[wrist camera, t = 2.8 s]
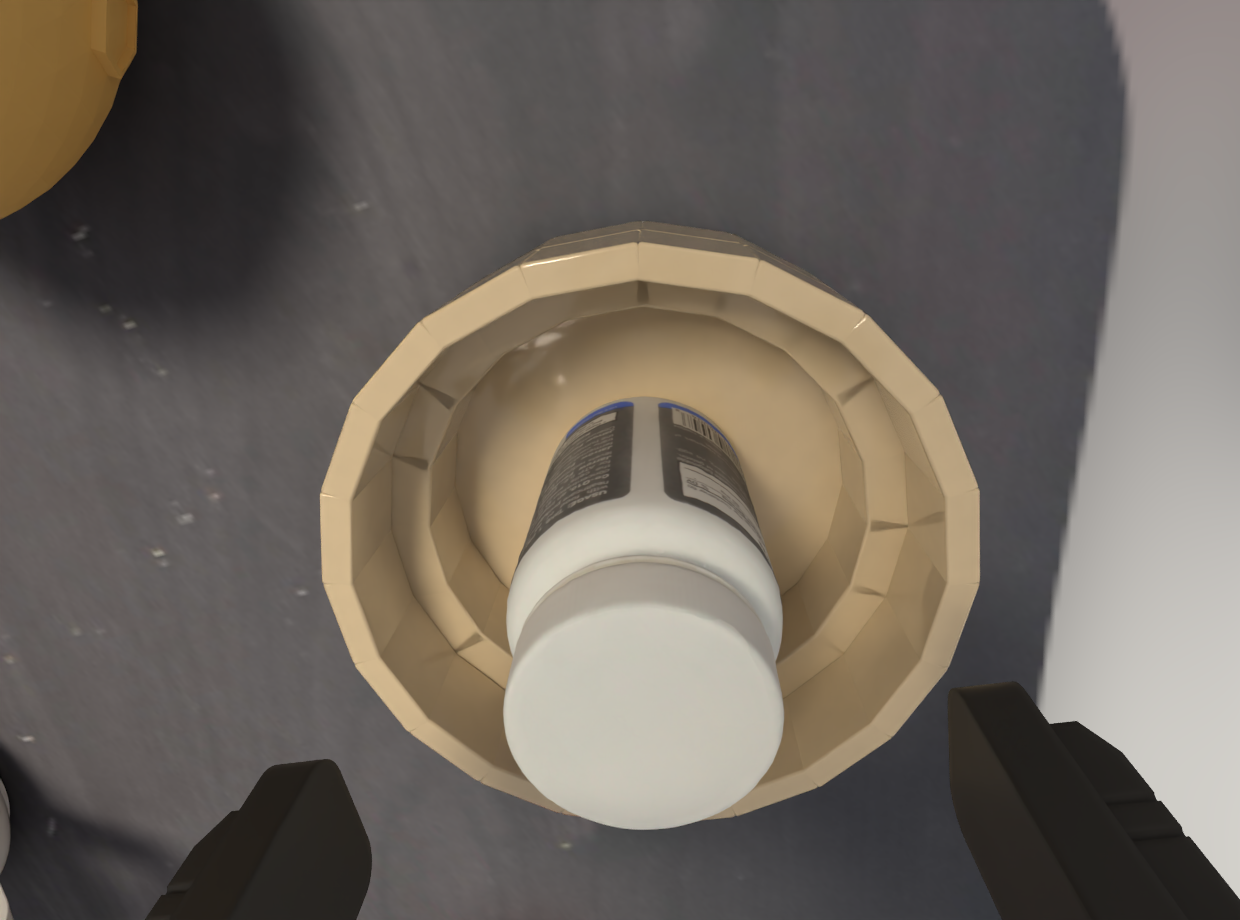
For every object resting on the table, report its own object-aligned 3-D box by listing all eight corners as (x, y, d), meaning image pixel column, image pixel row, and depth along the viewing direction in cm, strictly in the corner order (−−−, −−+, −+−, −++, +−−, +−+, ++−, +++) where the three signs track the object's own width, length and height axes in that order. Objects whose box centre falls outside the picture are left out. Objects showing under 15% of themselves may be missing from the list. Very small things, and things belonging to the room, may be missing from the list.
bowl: (338, 276, 17) (218, 320, 12) (882, 172, 15) (979, 176, 11) (474, 699, 21) (424, 850, 17) (905, 646, 20) (981, 793, 15)
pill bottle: (558, 570, 19) (492, 853, 11) (540, 396, 17) (447, 588, 9) (743, 565, 19) (807, 852, 11) (744, 386, 17) (820, 577, 9)
